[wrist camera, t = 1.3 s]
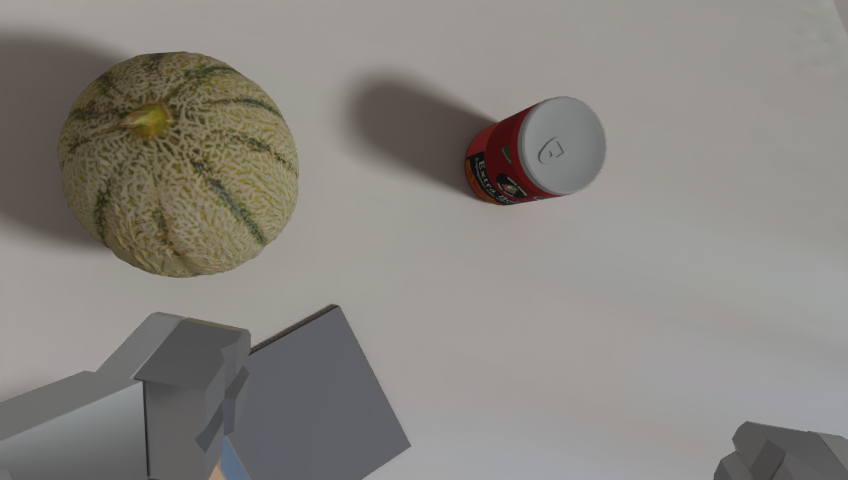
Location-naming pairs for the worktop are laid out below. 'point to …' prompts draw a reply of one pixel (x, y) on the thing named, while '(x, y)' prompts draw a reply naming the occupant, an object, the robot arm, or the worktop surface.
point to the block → (229, 465)
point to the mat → (315, 408)
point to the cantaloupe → (179, 164)
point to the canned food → (538, 153)
